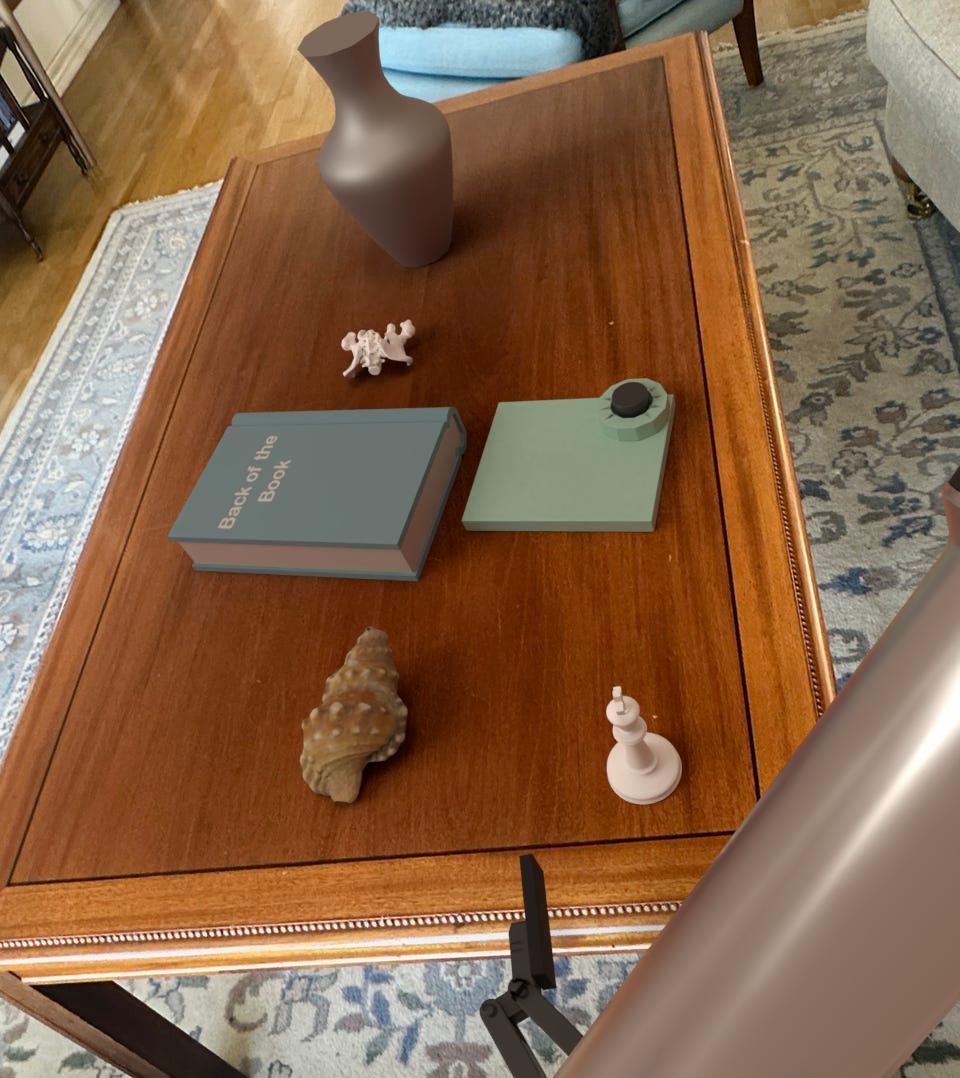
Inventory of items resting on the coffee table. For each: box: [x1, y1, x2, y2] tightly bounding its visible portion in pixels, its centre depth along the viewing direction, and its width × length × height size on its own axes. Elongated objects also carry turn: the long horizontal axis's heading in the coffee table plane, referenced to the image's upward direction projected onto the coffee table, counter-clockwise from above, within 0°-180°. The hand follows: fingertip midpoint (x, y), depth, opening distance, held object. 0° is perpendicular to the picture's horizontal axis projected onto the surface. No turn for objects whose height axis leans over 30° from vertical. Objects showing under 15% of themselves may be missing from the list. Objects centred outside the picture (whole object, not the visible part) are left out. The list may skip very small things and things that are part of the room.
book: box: [166, 406, 468, 582], centre depth 88 cm, size 23×16×5 cm
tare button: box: [612, 382, 650, 418], centre depth 82 cm, size 3×3×1 cm
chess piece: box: [605, 685, 683, 806], centre depth 61 cm, size 5×5×10 cm
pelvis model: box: [340, 319, 416, 379], centre depth 99 cm, size 8×4×7 cm
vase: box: [296, 10, 454, 269], centre depth 103 cm, size 14×14×25 cm
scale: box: [461, 377, 677, 533], centre depth 83 cm, size 16×14×3 cm
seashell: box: [299, 626, 409, 804], centre depth 71 cm, size 9×8×10 cm
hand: (648, 840), depth 55 cm, fingers open, 13 cm apart
